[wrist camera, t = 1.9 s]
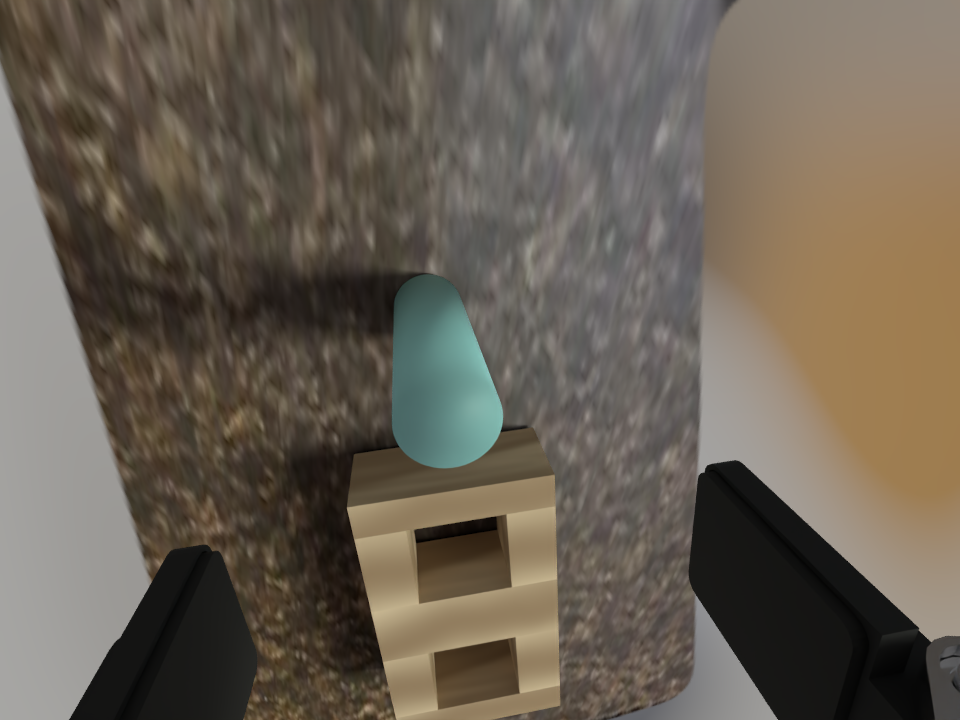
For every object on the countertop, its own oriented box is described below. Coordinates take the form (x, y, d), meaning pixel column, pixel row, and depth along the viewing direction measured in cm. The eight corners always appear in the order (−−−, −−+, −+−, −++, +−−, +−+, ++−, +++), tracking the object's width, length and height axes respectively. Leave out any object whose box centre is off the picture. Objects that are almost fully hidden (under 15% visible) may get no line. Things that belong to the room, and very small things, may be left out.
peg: (388, 278, 22) (383, 380, 13) (458, 270, 23) (499, 364, 14) (399, 343, 24) (400, 475, 14) (464, 334, 24) (506, 459, 15)
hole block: (354, 454, 25) (346, 507, 22) (532, 427, 26) (554, 474, 23) (400, 669, 32) (400, 738, 28) (542, 642, 33) (560, 705, 29)
